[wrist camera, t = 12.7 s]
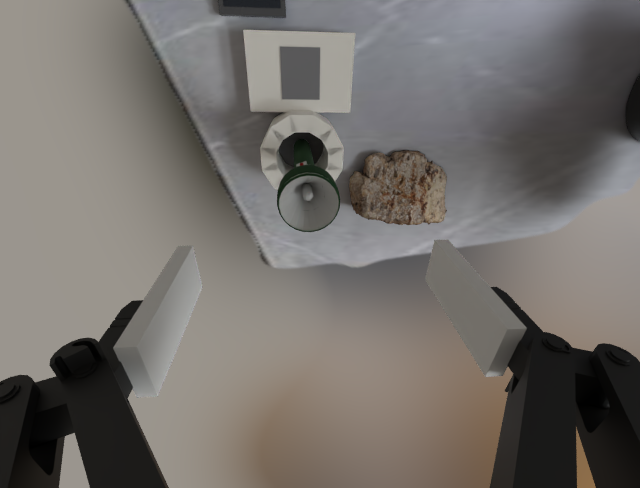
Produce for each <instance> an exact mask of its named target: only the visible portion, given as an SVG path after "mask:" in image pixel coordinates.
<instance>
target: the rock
mask: <svg viewBox="0 0 640 488" xmlns="http://www.w3.org/2000/svg"><path fill="white" fill-rule="evenodd" d="M446 180H447V177H446V174H445V172H444V171H443V169H442V168H441V167H440V166H436V165H435V164H433V161H431V162H427V159H426V157H425V155H424V154H422V153H420V152H419V151H409V150H407V151H406V150H404V151H399V152H394V153H393V154H392V155H391V156H390V157H388V156H385V155H384V154H383V153H374V154H372V155H370V156H368V157H367V158H366V159H365V165H364V168H363V173H361V172H358V171H354V174H353V175H352V176H351V177H350V183H349V189H350V192H351V194H350V197H351V200H352V201H351V203H352V206H353V210H355V211H356V214H359V215H361V216H362V217H364V218H368V220H369V219H372V220H373V219H376V220H381V221H384V222H385V223H388V224H391V223H395V224H399V225H400V224H401V225H403V224H406V225H412V224H415V225H417V224H421V223H422V222H425V223H426V222H427V223H428V224H430V223H439V222H442V221H443V220H444V218H445V213H446V211H447V210H446V209H445V202H444V199H445V197H444V196H445V195H444V193H445V185H446Z"/></svg>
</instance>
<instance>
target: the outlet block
mask: <svg viewBox="0 0 640 488" xmlns="http://www.w3.org/2000/svg"><path fill="white" fill-rule="evenodd" d="M243 33H244V44H245V55H246V66H247V77H248V88H249V99H250V110H251V112H283V113H281V114H280V115H278V116H277V117H275V118H273V120H272V122H271V124H270V126H269V128H268V131H267V133H266V135H265V137H264V139H263V142H262V144H261V147H260V152H261V165H262V171H263V173H264V174H265V176H266V177H267V179H268V180H269V182H270V183H271V185H272V186H273V187H274V189H276V190H278V188H279V185H280V182H281V180H282V178H283V177H284V175H285V174H286V173H288V172H289V171H290V170H291V169H293V168H294V167H292V166H290V165H288V164H287V163H285V161H284V160H283V158H282V157H281V155H280V153H279V146H280V144H281V142H282V141H283V139H285V138H287V137H288V136H290V135H292V134H293V133H295V132H309V133H311V134H313V135H314V136H316V137H318V138H319V139H321V140H322V142H323V153H322V155H321V157H320V158H319V160H318V162H317V163H316V164H314V165H315V166H318V167H321V168H322V169H324V170H325V171H327V172H328V173H329V174H330V175H331V176H332V178H333V179H334V181H336V179H337V178H338V176H339V175H340V173H341V172H342V170H343V153H344V148H343V146H342V144H341V142H340V140H339V138H338V136H337V134H336V132H335V130H334V128H333V126H332V125H331V123H330V122H329V120H328V119H327V118H325V117H324V116H322V115H321V114H319V113H317V112H327V113H350V108H351V92H352V77H353V61H354V46H355V33H335V32H302V31H270V30H243Z"/></svg>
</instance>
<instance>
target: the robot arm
mask: <svg viewBox="0 0 640 488" xmlns="http://www.w3.org/2000/svg"><path fill="white" fill-rule="evenodd" d="M626 122H627V127H628V129H629V131H630V133H631V135H632V136H633V137H634V138H635V139H637V140H639V141H640V76H639V78H638V79H637V81H636V83H635V85H634V87H633V89H632V92H631V94H630V97H629V100H628V104H627V110H626ZM425 280H426V282H427V283H428V285H429V287H430V288H431V290H432V292H433V293H434V295H435V296H436V298H437V300H438V301H439V303H440V304H441V306H442V308H443V309H444V311H445V313H446V314H447V316H448V317H449V319H450V321H451V322H452V324H453V325H454V327H455V329H456V330H457V332H458V333H459V335H460V337H461V338H462V340H463V341H464V343H465V345H466V346H467V348H468V349H469V351H470V353H471V354H472V356H473V358H474V359H475V361H476V363H477V364H478V366H479V367H480V369H481V370H482V372H483V374H484V375H485V377H490V376H503V374H504V372H505V370H506V368H507V367H509V368H510V370H511V371H512V372H513V376H512V378H511V380H510V382H509V384H508V386H507V387H506V389H505V391H506V392H508V396H507V401H506V406H505V412H504V417H503V422H502V427H501V432H500V437H499V443H498V448H497V453H496V459H495V463H494V469H493V474H492V479H491V484H490V488H577V465H576V427H577V430H578V433H579V436H580V439H581V442H582V446H583V449H584V452H585V455H586V458H587V461H588V464H589V467H590V470H591V473H592V476H593V480H594V483H595V486H596V488H640V362H639V361H638V359H637V358H636V357H634V356H633V355H632V354H631V353H629V352H628V351H626V350H624V349H621V348H620V347H617V346H614V345H611V344H598V345H597V347H596V348H595V349H594V351H593V352H591V351H586V350H581V349H576V348H572V347H571V345H570V344H569V343H568V342H566V341H565V340H564V339H562V338H560V337H558V336H556V335H554V334H551V333H547V332H543V331H542V330H541V329H540V328H539V327H538V326H537V325H536V324H535V323H534V322H533V321H532V320H531V319H530V318H529V316H528V315H527V314H526V313H525V312H524V311H523V310H521V308H520V307H519V306H518V305H517V304H516V303H515V301H514V300H513V299H512V298H511V297H510V296H509V295H508V294H507V293H505V292H504V291H502V290H501V289H499V288H497V287H490V286H489V285H488V284H487V283H486V282H485V281H484V280H483V278H482V277H481V276H480V275H479V274H478V273H477V272H476V271H475V269H474V268H473V267H472V266H471V265H470V264H469V263H468V262H467V261H466V259H465V258H464V257H463V256H462V255H461V254H460V253H459V252H458V250H457V249H456V248H455V247H454V246H453V245H452V244H451V243H450V241H449V240H435V241H434V245H433V249H432V253H431V258H430V262H429V266H428V270H427V274H426V278H425ZM201 290H202V283H201V278H200V274H199V270H198V265H197V261H196V256H195V252H194V248H193V246H178V247H177V249H176V250H175V252H174V253H173V255H172V256H171V258H170V259H169V261H168V263H167V264H166V266H165V267H164V269H163V270H162V272H161V274H160V275H159V277H158V278H157V280H156V282H155V283H154V285H153V286H152V288H151V289H150V291H149V292H148V294H147V296H146V297H145V299H144V300H142V301H131V302H130V303H129V304H128V305H126V306H125V307H124V308H123V309H121V311H120V312H119V314H118V315H117V317H116V318H115V320H114V321H113V322H112V324H111V325H110V328H108V329H107V331H106V332H105V334H104V335H103V336H102V338H101V339H100V341H99V342H98V341H97V340H95V339H92V338H82V339H78V340H75V341H72V342H70V343H68V344H66V345H65V346H63V347H61V348H60V349H59V350H58V351H57V352H56V353H55V354H54V355H53V356H52V358H51V359H50V367H51V368H52V370H53V371H54V372H55V374H56V377H53V378H49V379H46V380H42V381H39V382H34V381H33V380H32V378H30V377H29V376H28V375H18V376H14V377H10V378H8V379H5V380H3V381H1V382H0V488H59V481H60V472H61V464H62V454H63V446H64V438H65V436H66V435H69V434H72V433H75V435H76V439H77V442H78V446H79V450H80V453H81V457H82V460H83V464H84V467H85V471H86V475H87V478H88V482H89V485H90V488H169V487H168V485H167V483H166V481H165V479H164V477H163V474H162V472H161V470H160V468H159V466H158V464H157V461H156V459H155V457H154V455H153V453H152V451H151V448H150V446H149V444H148V442H147V440H146V438H145V436H144V433H143V431H142V429H141V427H140V425H139V422H138V421H137V418H136V416H135V414H134V412H133V409H132V407H131V405H130V403H129V401H128V399H127V398H128V396H129V394H130V392H131V390H132V388H133V390H134V392H135V395H136V397H137V398H139V397H156V396H158V395H159V392H160V390H161V387H162V385H163V382H164V380H165V377H166V375H167V373H168V370H169V368H170V365H171V363H172V360H173V358H174V356H175V353H176V351H177V348H178V346H179V343H180V341H181V338H182V336H183V334H184V331H185V329H186V326H187V324H188V321H189V319H190V316H191V314H192V312H193V309H194V307H195V304H196V302H197V299H198V297H199V294H200V292H201Z"/></svg>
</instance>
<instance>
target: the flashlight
mask: <svg viewBox="0 0 640 488" xmlns="http://www.w3.org/2000/svg"><path fill="white" fill-rule="evenodd" d="M277 206H278V210H279V213H280V215H281V217H282V218H283V220H284V221H285V222H286V223H287V224H288V225H289V226H291V227H292V228H294V229H296V230H299V231H303V232H313V231H318V230H321V229H323V228H325V227H326V226H328V225H329V224H330V223H331V222H332V221H333V220H334V219H335V217H336V215H337V213H338V211H339V207H340V196H339V191H338V188H337V186H336V183H335V181H334V179H333V178H332V176H331V175H330V174H329V173H328V172H327V171H325V170H324V169H322V168H321V167H318V166H315V165H314V162H313V157H312V153H311V148H310V144H309V143H308V141H307V140H305V139H298V140H297V141H296V142H295V143H294V168H293V169H291V170H290V171H289V172H288V173H286V174H285V175H284V177H283V178H282V180H281V182H280V185H279V188H278V194H277Z"/></svg>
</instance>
